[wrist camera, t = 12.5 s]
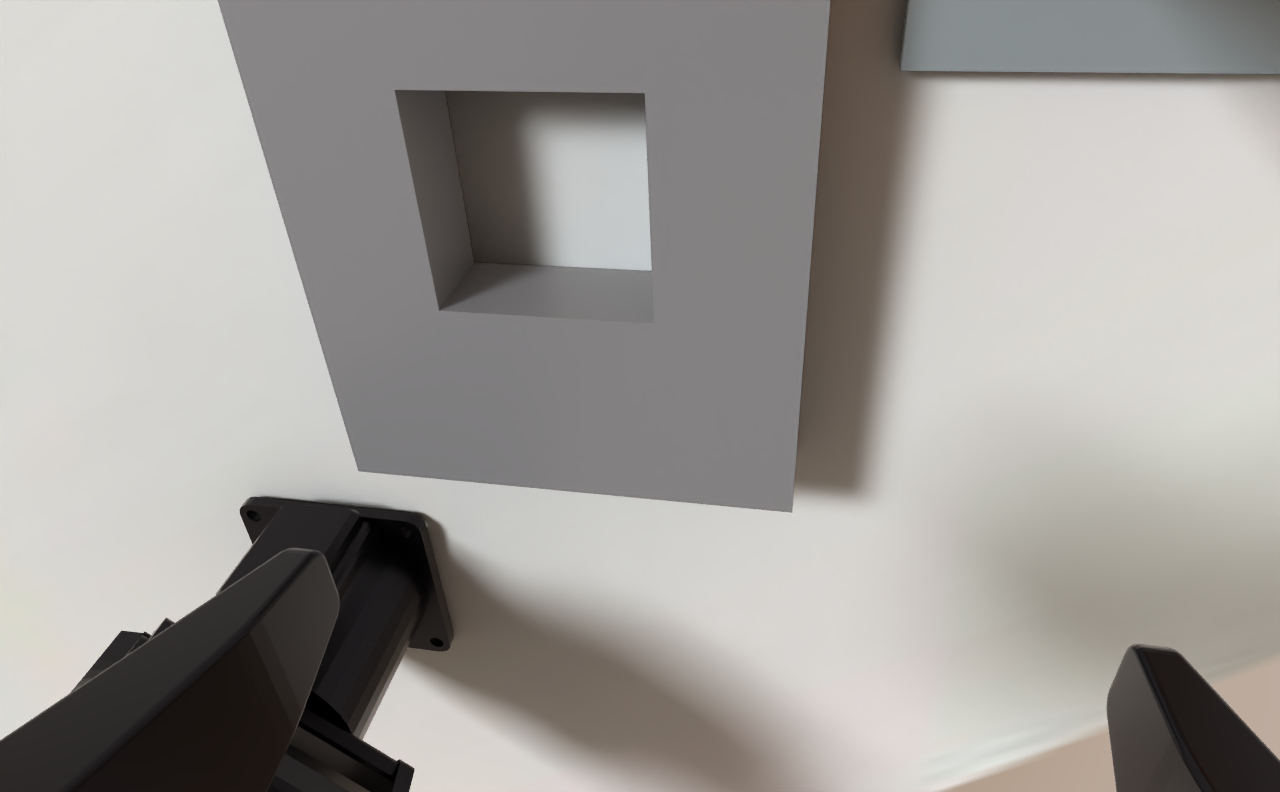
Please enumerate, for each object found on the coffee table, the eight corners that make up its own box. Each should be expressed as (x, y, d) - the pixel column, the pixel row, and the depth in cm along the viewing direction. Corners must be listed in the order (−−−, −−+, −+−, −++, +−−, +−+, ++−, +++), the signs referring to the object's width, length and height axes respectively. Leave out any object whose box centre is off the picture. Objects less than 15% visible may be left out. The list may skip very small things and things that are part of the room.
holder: (796, 451, 25) (792, 512, 23) (394, 417, 27) (358, 471, 25) (850, -263, 16) (850, -263, 14) (229, -228, 18) (150, -225, 16)
